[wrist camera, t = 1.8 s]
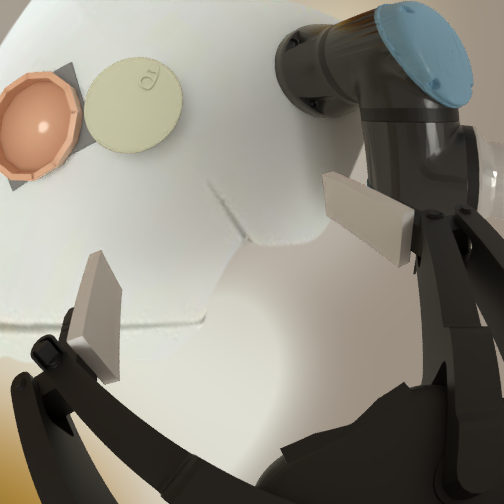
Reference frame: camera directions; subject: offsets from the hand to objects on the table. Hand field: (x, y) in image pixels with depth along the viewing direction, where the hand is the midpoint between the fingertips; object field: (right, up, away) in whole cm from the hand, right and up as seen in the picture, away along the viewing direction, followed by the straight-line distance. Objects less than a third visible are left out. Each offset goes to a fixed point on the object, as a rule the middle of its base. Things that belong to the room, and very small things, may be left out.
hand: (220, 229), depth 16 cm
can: (-13, +16, +16) cm, 26 cm away
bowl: (-26, +15, +10) cm, 31 cm away
